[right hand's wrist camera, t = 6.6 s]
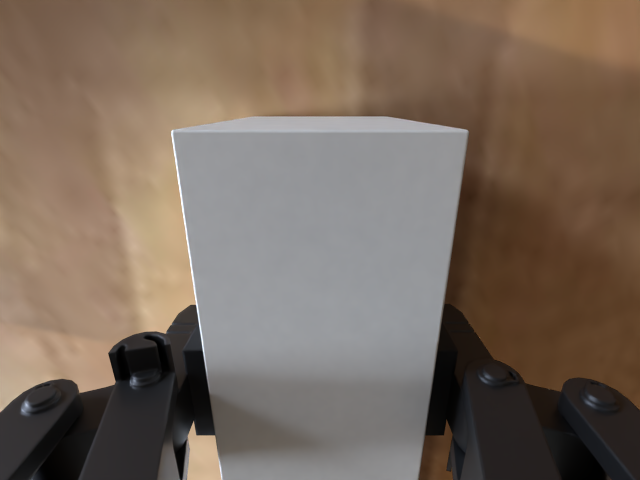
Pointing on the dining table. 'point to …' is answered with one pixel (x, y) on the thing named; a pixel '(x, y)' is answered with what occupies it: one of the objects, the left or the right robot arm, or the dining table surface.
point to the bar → (320, 287)
